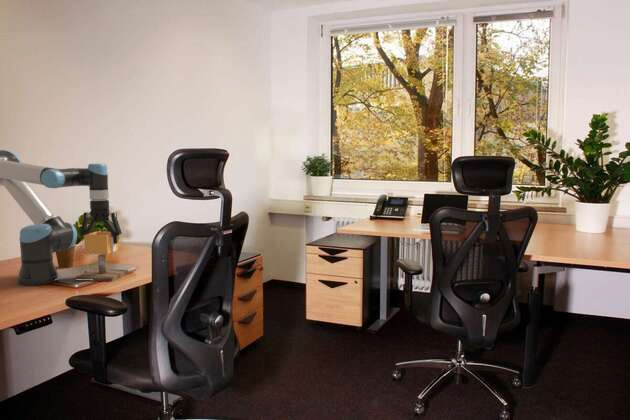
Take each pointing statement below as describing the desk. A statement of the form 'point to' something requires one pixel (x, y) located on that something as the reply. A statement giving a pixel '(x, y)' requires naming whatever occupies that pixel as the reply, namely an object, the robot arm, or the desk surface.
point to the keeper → (103, 272)
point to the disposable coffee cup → (66, 257)
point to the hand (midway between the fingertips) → (101, 251)
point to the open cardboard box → (98, 243)
